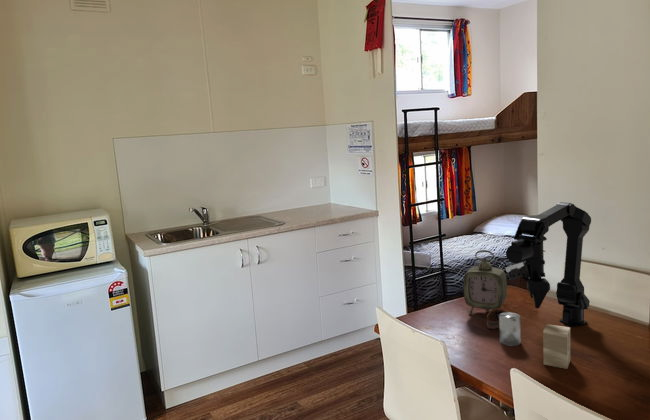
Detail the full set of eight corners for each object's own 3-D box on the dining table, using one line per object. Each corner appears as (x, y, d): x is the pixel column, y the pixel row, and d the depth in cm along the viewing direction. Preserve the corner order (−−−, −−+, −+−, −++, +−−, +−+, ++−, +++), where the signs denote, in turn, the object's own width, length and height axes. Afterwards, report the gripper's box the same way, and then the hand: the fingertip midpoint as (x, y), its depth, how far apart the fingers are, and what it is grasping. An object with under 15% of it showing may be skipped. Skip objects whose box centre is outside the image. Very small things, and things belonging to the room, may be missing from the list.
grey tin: (511, 336, 167) (510, 311, 166) (524, 343, 161) (524, 317, 160) (495, 340, 165) (495, 314, 164) (508, 347, 159) (508, 321, 158)
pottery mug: (522, 334, 170) (512, 317, 167) (496, 345, 172) (486, 328, 169) (511, 313, 181) (502, 296, 178) (487, 324, 183) (478, 308, 180)
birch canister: (547, 356, 151) (546, 324, 150) (570, 360, 148) (570, 327, 146) (543, 364, 147) (543, 331, 145) (567, 368, 143) (567, 334, 141)
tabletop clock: (464, 315, 189) (461, 251, 185) (470, 307, 196) (468, 246, 192) (503, 320, 181) (502, 254, 177) (508, 311, 189) (507, 248, 185)
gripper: (503, 249, 168) (505, 293, 171) (510, 265, 150) (512, 313, 153) (538, 248, 165) (540, 292, 168) (550, 264, 148) (550, 313, 150)
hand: (534, 302), depth 160 cm, fingers open, 9 cm apart
